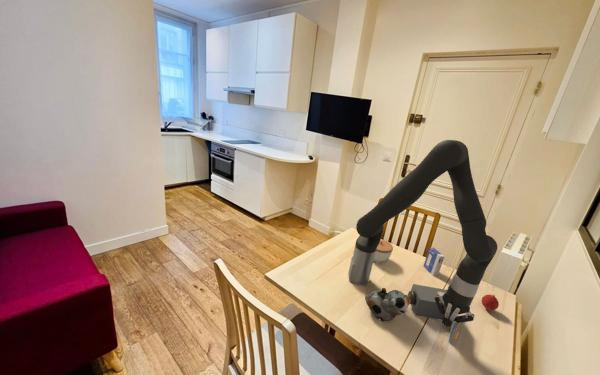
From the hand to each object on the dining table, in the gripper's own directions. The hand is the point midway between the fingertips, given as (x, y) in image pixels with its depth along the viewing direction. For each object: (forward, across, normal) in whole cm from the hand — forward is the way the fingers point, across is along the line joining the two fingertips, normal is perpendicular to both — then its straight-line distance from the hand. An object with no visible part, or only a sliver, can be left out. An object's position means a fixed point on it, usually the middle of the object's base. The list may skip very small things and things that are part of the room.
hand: (445, 325), depth 91 cm
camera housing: (+5, -7, +9) cm, 13 cm away
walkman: (+6, -14, +39) cm, 42 cm away
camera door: (+4, +3, +4) cm, 6 cm away
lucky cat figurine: (+6, -20, -6) cm, 21 cm away
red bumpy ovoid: (+5, +11, +30) cm, 33 cm away
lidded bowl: (+6, -38, +26) cm, 47 cm away
